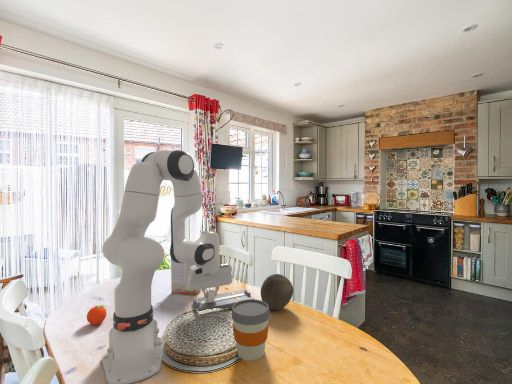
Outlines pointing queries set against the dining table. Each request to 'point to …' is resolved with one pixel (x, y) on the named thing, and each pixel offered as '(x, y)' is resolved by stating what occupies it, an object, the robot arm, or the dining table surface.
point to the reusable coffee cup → (250, 328)
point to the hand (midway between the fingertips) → (210, 296)
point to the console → (222, 300)
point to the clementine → (96, 315)
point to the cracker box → (180, 278)
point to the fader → (210, 295)
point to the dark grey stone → (276, 291)
